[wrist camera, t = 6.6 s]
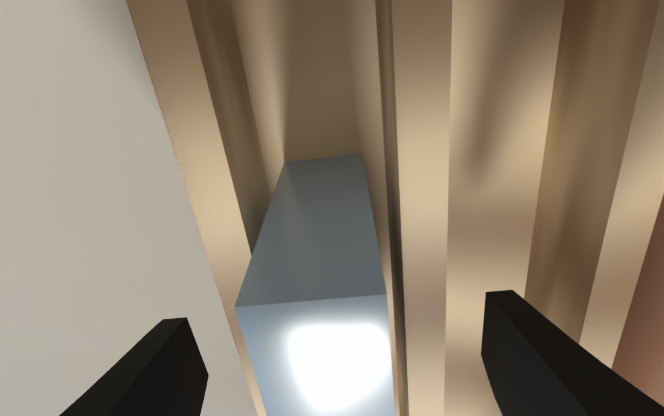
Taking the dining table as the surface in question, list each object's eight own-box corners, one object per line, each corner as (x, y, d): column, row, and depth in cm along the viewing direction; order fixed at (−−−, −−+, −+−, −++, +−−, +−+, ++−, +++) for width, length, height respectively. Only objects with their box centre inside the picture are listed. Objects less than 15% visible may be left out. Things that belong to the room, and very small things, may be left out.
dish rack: (647, 391, 17) (732, 496, 13) (280, 416, 18) (266, 519, 14) (854, -160, 8) (1231, -284, 5) (149, -55, 9) (36, -94, 6)
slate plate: (377, 337, 14) (403, 540, 9) (317, 342, 14) (305, 545, 9) (361, 153, 11) (386, 294, 5) (284, 162, 11) (234, 307, 6)
